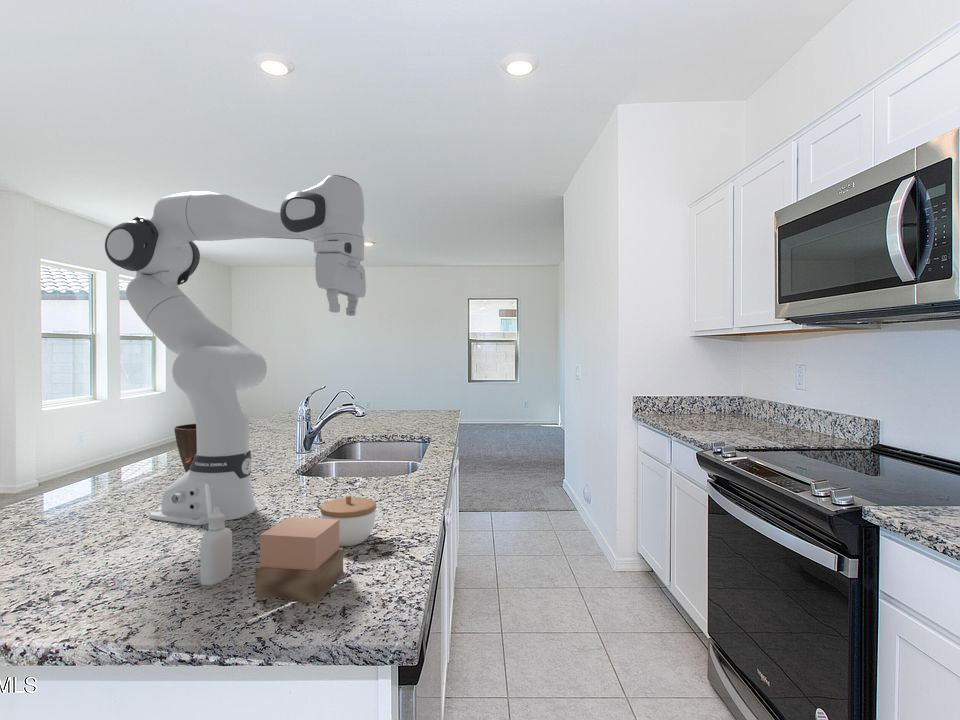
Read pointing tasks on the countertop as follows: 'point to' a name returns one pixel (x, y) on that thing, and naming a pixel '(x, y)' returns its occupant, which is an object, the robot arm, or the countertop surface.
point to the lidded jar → (351, 518)
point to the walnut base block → (299, 581)
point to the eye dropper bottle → (216, 550)
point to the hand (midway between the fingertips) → (343, 314)
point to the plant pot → (186, 443)
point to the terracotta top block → (299, 543)
